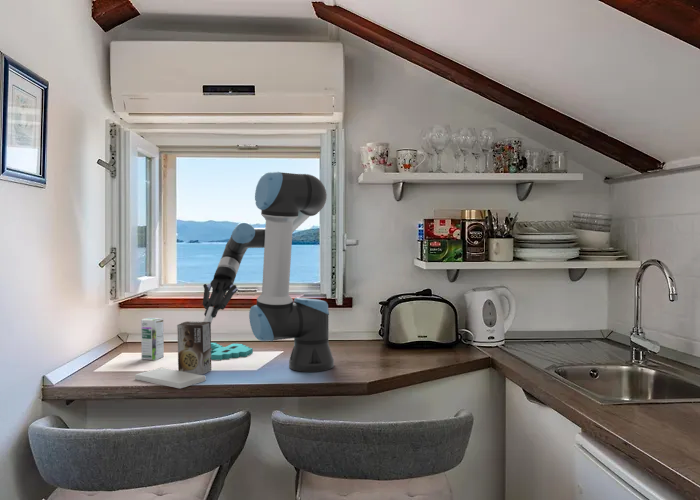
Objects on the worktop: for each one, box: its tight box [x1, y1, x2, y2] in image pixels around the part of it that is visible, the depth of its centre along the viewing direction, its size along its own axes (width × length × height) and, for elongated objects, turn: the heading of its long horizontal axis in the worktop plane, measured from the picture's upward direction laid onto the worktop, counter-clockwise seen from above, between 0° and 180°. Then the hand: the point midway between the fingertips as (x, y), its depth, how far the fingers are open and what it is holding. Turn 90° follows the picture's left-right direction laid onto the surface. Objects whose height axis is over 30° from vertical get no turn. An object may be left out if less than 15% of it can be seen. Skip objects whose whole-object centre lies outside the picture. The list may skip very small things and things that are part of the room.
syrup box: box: [140, 317, 165, 361], centre depth 196 cm, size 6×6×14 cm
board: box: [134, 367, 207, 389], centre depth 167 cm, size 20×10×2 cm, turn 59°
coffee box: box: [176, 321, 212, 375], centre depth 176 cm, size 9×6×16 cm
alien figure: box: [211, 342, 254, 361], centre depth 204 cm, size 20×2×20 cm
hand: (206, 324), depth 185 cm, fingers closed
